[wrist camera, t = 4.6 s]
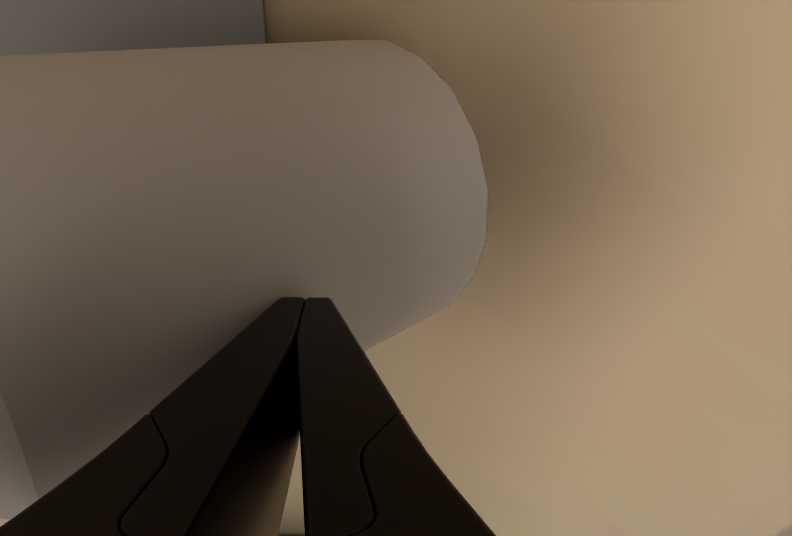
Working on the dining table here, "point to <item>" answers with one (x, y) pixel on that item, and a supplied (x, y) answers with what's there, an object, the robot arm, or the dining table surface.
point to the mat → (127, 24)
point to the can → (209, 221)
